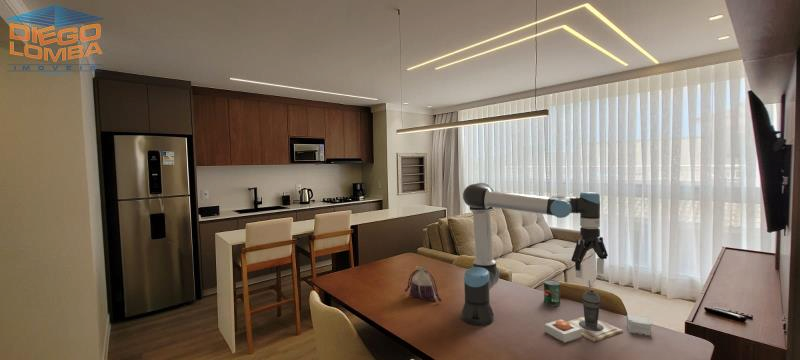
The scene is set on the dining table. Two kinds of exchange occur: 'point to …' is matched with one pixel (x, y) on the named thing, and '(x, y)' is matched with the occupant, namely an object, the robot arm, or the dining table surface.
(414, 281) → the pouch
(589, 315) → the beverage cup
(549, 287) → the canned tomato
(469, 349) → the dining table surface
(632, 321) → the small box
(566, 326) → the button
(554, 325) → the button housing
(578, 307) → the dining table surface
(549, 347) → the dining table surface
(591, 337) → the beige flat square slab
